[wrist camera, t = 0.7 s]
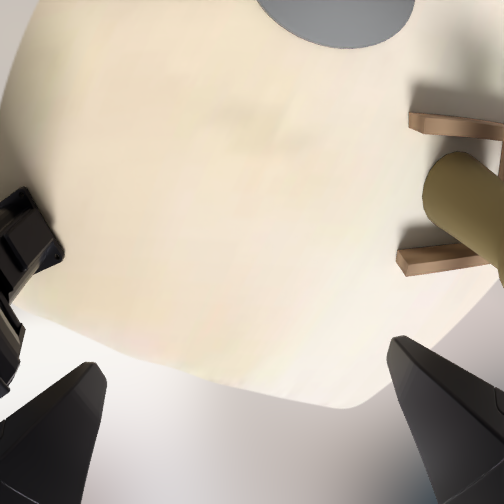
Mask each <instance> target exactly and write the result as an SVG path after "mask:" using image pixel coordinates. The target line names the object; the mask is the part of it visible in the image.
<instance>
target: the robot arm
mask: <svg viewBox="0 0 504 504" xmlns="http://www.w3.org/2000/svg"><path fill="white" fill-rule="evenodd" d="M22 193H23V194H24V196H23V195H22ZM57 254H58V255H59V256H58V255H57ZM64 257H65V254H64V252H63V251H62V249H61V247H60V246H59V244H58V242H57V241H56V239H55V237H54V236H53V234H52V232H51V231H50V229H49V227H48V226H47V224H46V222H45V220H44V219H43V217H42V215H41V213H40V212H39V210H38V208H37V206H36V204H35V202H34V201H33V199H32V197H31V195H30V193H29V191H28V189H27V188H26V187H21V188H19V189H18V190H16V191H15V192H14V193H12V194H11V195H10V196H8V197H7V198H6V199H4V200H3V201H2V202H1V203H0V398H1V397H3V396H4V395H6V394H7V393H9V392H10V388H9V387H8V386H9V384H10V383H11V382H12V380H13V378H14V376H15V373H16V372H17V370H18V367H19V365H20V359H19V355H20V351H21V347H22V342H23V338H24V334H25V330H26V329H25V327H24V326H23V325H22V323H20V322H19V320H18V318H17V317H16V315H15V313H14V312H13V310H12V308H11V307H10V304H11V303H12V302H13V300H14V299H15V298H16V296H17V295H18V294H19V292H20V291H21V290H22V288H23V287H24V286H25V284H26V283H27V282H28V280H29V279H30V278H31V277H32V275H34V274H36V273H38V272H40V271H42V270H44V269H47V268H49V267H51V266H53V265H56V264H58V263H60V262H61V261H62V260H63V259H64ZM387 364H388V368H389V371H390V374H391V378H392V381H393V384H394V388H395V391H396V395H397V398H398V401H399V404H400V406H401V409H402V411H403V413H404V416H405V418H406V420H407V423H408V425H409V428H410V430H411V433H412V435H413V437H414V440H415V443H416V445H417V448H418V450H419V453H420V455H421V458H422V460H423V463H424V466H425V468H426V471H427V474H428V476H429V479H430V482H431V485H432V487H433V490H434V493H435V496H436V499H437V501H438V504H504V392H503V391H502V390H500V389H498V388H497V387H495V388H494V386H492V385H491V384H489V383H487V382H485V381H484V380H482V379H480V378H478V377H477V376H475V375H473V374H471V373H469V372H468V371H466V370H464V369H463V368H461V367H459V366H458V365H456V364H454V363H452V362H450V361H449V360H447V359H445V358H443V357H442V356H440V355H438V354H436V353H435V352H433V351H431V350H430V349H428V348H426V347H424V346H423V345H421V344H419V343H417V342H416V341H414V340H412V339H410V338H409V337H407V336H404V335H402V336H397V337H393V338H392V339H391V342H390V346H389V349H388V353H387ZM106 388H107V381H106V378H105V376H104V374H103V373H102V371H101V370H100V368H99V367H98V365H97V364H96V363H94V362H84V363H82V364H81V365H79V366H78V367H77V368H75V369H74V370H72V371H71V372H70V373H68V374H67V375H65V376H64V377H63V378H61V379H60V380H59V381H57V382H56V383H54V384H53V385H52V386H50V387H49V388H47V389H46V390H45V391H43V392H42V393H41V394H39V395H38V396H37V397H35V398H34V399H33V400H31V401H30V402H28V403H27V404H25V405H24V406H23V407H21V408H20V409H19V410H17V411H16V412H14V413H13V414H12V415H10V416H9V417H8V418H6V420H3V421H2V422H0V504H81V500H82V496H83V491H84V486H85V481H86V477H87V473H88V469H89V465H90V461H91V457H92V453H93V449H94V445H95V441H96V437H97V434H98V430H99V426H100V422H101V417H102V411H103V405H104V399H105V394H106Z"/></svg>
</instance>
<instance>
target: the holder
mask: <svg viewBox="0 0 504 504" xmlns="http://www.w3.org/2000/svg"><path fill="white" fill-rule="evenodd" d="M409 128H411V129H413V130H416V131H418V132H421V133H423V134H432V135H448V136H460V137H471V138H481V139H489V140H498V141H503V144H502V153H501V161H500V169H499V175H498V177H499V178H500V179H501V180H502V181H503V182H504V124H502V123H497V122H491V121H484V120H478V119H471V118H463V117H455V116H446V115H436V114H425V113H411V112H409ZM396 263H397V264H398V266H399V267H400V268H401V270H402V271H403V273H404V274H405V276H406V277H408V276H415V275H422V274H429V273H436V272H442V271H449V270H455V269H462V268H468V267H474V266H480V265H486V264H490V263H489V262H488V261H486V260H485V259H484V258H482V257H481V256H480V255H478V254H477V253H475V252H474V251H473V250H471V249H470V248H468V247H467V246H466V245H464V244H463V243H457V244H448V245H439V246H430V247H421V248H412V249H403V250H397V257H396Z"/></svg>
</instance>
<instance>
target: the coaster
mask: <svg viewBox="0 0 504 504" xmlns="http://www.w3.org/2000/svg"><path fill="white" fill-rule="evenodd" d="M257 1H258V3H259V4H260V6H261V7H262V9H263V10H264V11H265V12H266V13H267V14H268V15H269V16H270V17H271V18H272V19H273V20H274V21H275V22H276V23H278V24H279V25H280V26H282V27H283V28H284V29H286V30H287V31H289V32H291V33H292V34H294V35H296V36H298V37H300V38H302V39H304V40H307V41H309V42H312V43H315V44H318V45H322V46H327V47H331V48H340V49H354V48H363V47H368V46H372V45H376V44H378V43H381V42H384V41H386V40H387V39H389V38H391V37H393V36H394V35H395V34H396V33H398V32H399V31H400V30H401V29H402V28H403V26H404V25H405V24H406V22H407V21H408V19H409V18H410V15H411V13H412V11H413V7H414V3H415V0H257Z"/></svg>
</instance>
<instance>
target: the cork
mask: <svg viewBox="0 0 504 504" xmlns="http://www.w3.org/2000/svg"><path fill="white" fill-rule="evenodd" d="M422 199H423V207H424V210H425V212H426V215H427V217H428V218H429V219H430V220H431V221H432V222H433V223H434V224H435V225H436V226H438V227H439V228H441V229H442V230H444V231H445V232H447V233H448V234H450V235H451V236H453V237H454V238H456V239H457V240H458V241H460V242H461V243H463V244H464V245H466V246H467V247H468V248H470V249H471V250H473V251H474V252H475V253H477V254H478V255H480V256H481V257H482V258H484V259H485V260H486V261H488V262H489V263H490V264H492V265H493V266H494V267H496V268H497V269H498V273H499V278H500V281H501V283H502V285H503V288H504V182H503V181H502V180H501V179H500V178H499V177H498V176H496V175H495V174H494V173H493V172H492V171H490V170H489V169H488V168H487V167H486V166H484V165H483V164H482V163H481V162H479V161H478V160H477V159H476V158H474V157H473V156H471V155H469V154H468V153H466V152H457V151H456V152H453V153H450V154H447V155H445V156H444V157H442V158H441V159H440V160H438V161H437V162H436V163H435V165H434V166H433V167H432V169H431V170H430V171H429V173H428V176H427V178H426V181H425V183H424V188H423V195H422Z"/></svg>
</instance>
